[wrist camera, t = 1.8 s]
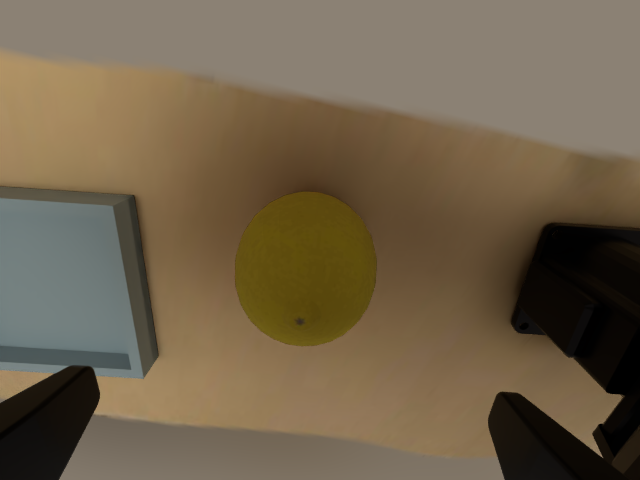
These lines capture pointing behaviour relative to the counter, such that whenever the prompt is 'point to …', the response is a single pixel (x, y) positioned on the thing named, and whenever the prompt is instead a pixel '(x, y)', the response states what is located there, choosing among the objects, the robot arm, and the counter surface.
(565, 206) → the counter surface
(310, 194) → the lemon
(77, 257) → the tray
